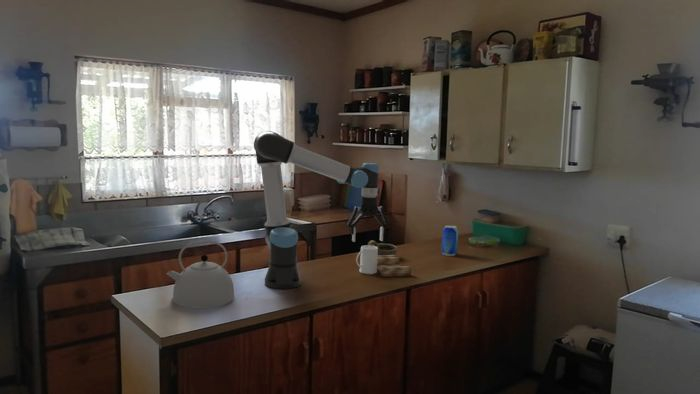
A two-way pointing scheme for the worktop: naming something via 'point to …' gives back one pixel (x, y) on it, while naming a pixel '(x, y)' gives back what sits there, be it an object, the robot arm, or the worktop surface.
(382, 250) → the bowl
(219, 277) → the kettle
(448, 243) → the beer can
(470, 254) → the worktop surface
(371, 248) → the mug
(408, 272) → the rack
